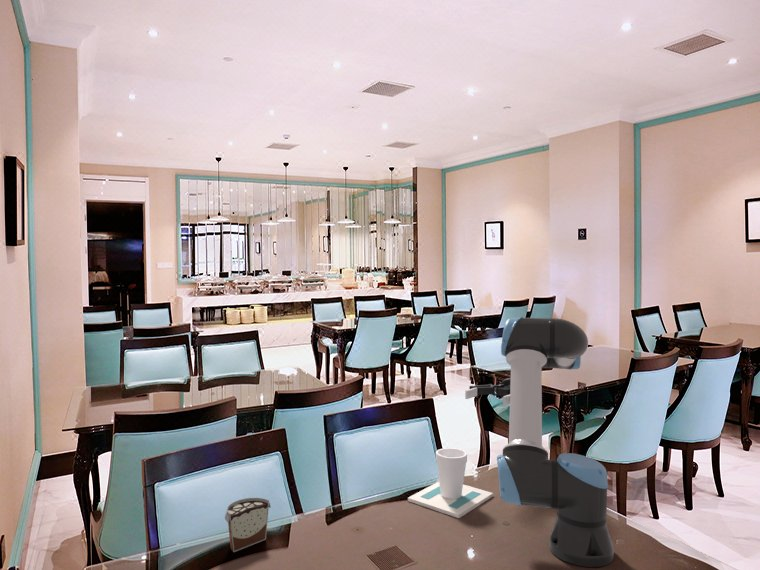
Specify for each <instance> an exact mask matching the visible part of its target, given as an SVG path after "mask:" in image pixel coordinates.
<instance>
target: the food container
mask: <svg viewBox="0 0 760 570" xmlns="http://www.w3.org/2000/svg"><path fill="white" fill-rule="evenodd" d="M271 507H272V506H271V503H270V500H269V499H267V498H262V497H248V498H242V499H238V500H235V501H234V502H231V503H230V504H229V505H228V506H227V509H226V510H225V514H224V515H225V516H224V520H225V521H226V522H227V526H228V535H229V536H228V537H229V544H230V550H231V552H233V553H236V552H239V551H241V550H243V549H246V548H249V547H251V546H253V545H255V544H256V545H257V544H258V543H261V542H263V541H266V539H267V529H268V520H269V510H270V508H271Z"/></svg>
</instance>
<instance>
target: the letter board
mask: <svg viewBox="0 0 760 570" xmlns="http://www.w3.org/2000/svg"><path fill="white" fill-rule="evenodd" d="M493 496H494V492H491V491H487V490H484V489H480V488H477V487H474V486H470V485H468V484H467V485H466V484H464V483H463V488H462V494H461V497H460V498H457V499H447V498H444V497H442V496H441V492H440V484H439V481H437V482H435V483H433V484H430V485H429V486H427V487H425V488H424V489H422V490H419V492H418V491H417V492H415V493H414V494H412V495H410V496H409V497H407V502H410V503H413V504H416V505H419V506H420V507H421V506H422V507H424V508H428V509H430V510H432V511H433V510H434V511H436V512H439V513H442V514H444V515H445V514H446V515H448V516H450V517H454V518H457V519H461V518H462V517H463V516H465V515H467V513H470V512H471V511H472V510H474V509H476V508H477V507H478V506H481V505H482V504H483V503H486V502H487V501H488V500H489V499H492V498H493Z"/></svg>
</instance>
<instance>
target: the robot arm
mask: <svg viewBox="0 0 760 570" xmlns="http://www.w3.org/2000/svg"><path fill="white" fill-rule="evenodd" d="M501 338H502V339H501V347H500V352H501V355H502V356H503V357H505V360H506V363H507V364H509V365H510V377H509V378H505V379H504V380H502V381H501V383H499V384H495V385H494V384H492V383H489V384H479V385H469V387H468V388H469V389H466V390H465V393H464V397H465V399H466V400H469V399H471V398H476V397H477V396H478V395H479V396H481V395H483V396H485V395H487V396H488V395H491V396H494V397H495V396H496V397H497V396H500V397H502V406H508V405H509V421H508V422H509V423H508V424H509V425H508V443H507V444H506V445H505V446H503V448H502V454H498V455H497V456H496V461H497V464H496V465H497V474H498V483H499V486H498V487H499V494H500V498H501V500H502V501H503V502H504V503H506V504H510V505H512V504H513V505H517V506H519V507H521V506H527V507H535V508H543V509H544V508H545V509H546V508H547V509H556V510H557V511H556V520H555V522H554V523H553V524H554V525H553V527H552V529H551V532H550V536H549V538H548V541H549V543H548V545H549V546H548V547H549V550H550V552H551V553H552V554H553V555H554V557H556V558H558V559H559V560H562V561H564V562H566V563H569V564H571V565H574V566H575V565H576V566H579V567H587V568H599V567H605V566H607V565H609V564H611V563H612V562H613V560H614V551H615V549H614V544H613V541H612V539H611V535H610V532H609V528H608V526H607V516H608V515H607V514H608V513H607V512H608V511H607V509H608V508H607V507H608V504H607V503H608V488H609V483H608V472H607V469H606V467H605V466H604V465H603V464H602V463H601V462H599V461H598V460H596V459H595V458H591V457H588V456H585V455H582V454H578V453H570V452H567V453H563V452H562V453H560V454H559V455H558V457H557V458H556V460H555V459H549V452H548V450H547V449H545V448H544V447H543V414H542V413H543V406H542V404H543V401H542V400H543V398H542V397H543V394H542V393H543V392H542V391H543V389H542V387H543V386H542V381H543V379H542V376H543V375H542V370H543V368H544V369H559V370H560V369H562V370H570V371H572V370H579V369H580V368H581V359H582V358H581V357H582V356H583V355H584V354H585V353H586V351H587V349H588V347H589V340H588V336H587V334H586V333H585V330H583V329H582V328H581V327H580V326H578V325H577V324H575V323H574V322H572V321H569V320H566V319H563V318H547V317H545V318H543V317H542V318H540V317H523V316H519V317H510V318H508V319H506V321H505V323H504V327H503V331H502V337H501Z"/></svg>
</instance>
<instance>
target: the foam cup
mask: <svg viewBox="0 0 760 570" xmlns="http://www.w3.org/2000/svg"><path fill="white" fill-rule="evenodd" d="M435 461H436V466H437V473H438V482H439V484H440V492H441V496H442V497H444V498H447V499H457V498H460V497H461V494H462V488H463V484H464V480H465V474H466V473H465V472H466V468H467V462H468V453H467V452H466V450H463V449H460V448H458V447H457V448H455V447H445V448H440V449H437V450H436V451H435Z"/></svg>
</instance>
